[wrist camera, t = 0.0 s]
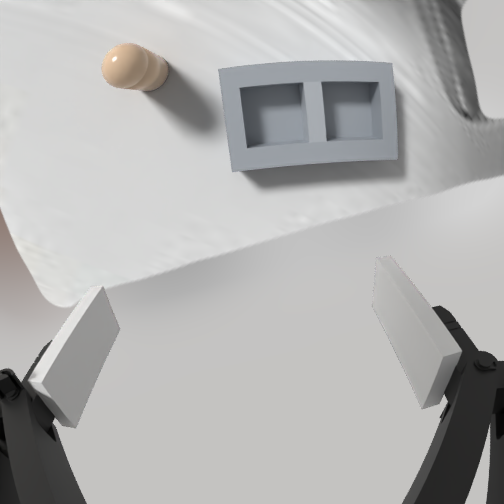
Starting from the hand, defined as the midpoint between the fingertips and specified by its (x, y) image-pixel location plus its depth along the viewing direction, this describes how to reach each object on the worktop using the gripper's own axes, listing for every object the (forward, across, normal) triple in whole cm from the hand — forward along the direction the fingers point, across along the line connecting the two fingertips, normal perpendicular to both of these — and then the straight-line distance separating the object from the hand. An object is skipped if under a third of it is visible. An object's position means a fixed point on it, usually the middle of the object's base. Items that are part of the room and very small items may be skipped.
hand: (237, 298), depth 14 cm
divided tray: (+28, +9, +7) cm, 30 cm away
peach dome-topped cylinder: (+28, -10, +15) cm, 33 cm away
